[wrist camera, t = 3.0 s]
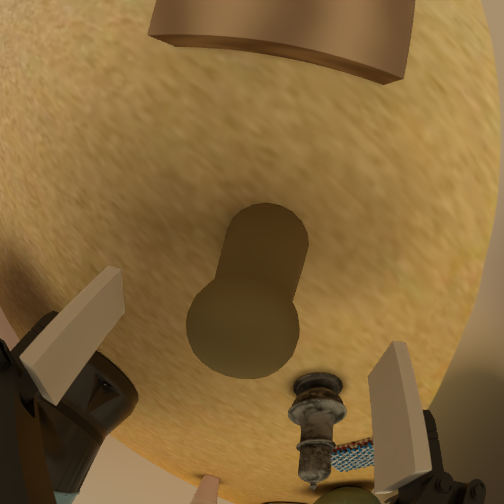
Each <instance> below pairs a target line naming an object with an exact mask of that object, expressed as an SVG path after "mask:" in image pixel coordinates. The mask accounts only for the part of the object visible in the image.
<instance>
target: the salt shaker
mask: <svg viewBox="0 0 504 504" xmlns="http://www.w3.org/2000/svg"><path fill="white" fill-rule="evenodd" d="M342 387H343V385H342V381H341V380H340V379H339V378H338V377H336V376H335V375H332V374H328V373H312V374H308V375H305V376H303V377H301V378H299V379H298V380H297V381H296V382H295V384H294V392H295V394H296V395H297V398H296V399H295V401H294V403H293V404H292V407H291V408H290V409H289V411H288V417H289V418H290V420H291V421H292V422H294V423H295V424H297V425H300V426H301V439H300V443H298V444H297V447H296V448H297V450H298V451H300V459H299V469H298V476H299V477H300V478H301V479H302V480H304V481H306V482H309V483H311V485H310V486H309V487H311V489H312V490H314V489H316V487H317V485H316V483H319V482H320V481H323V480H325V479H326V478H328V477H329V475H330V473H331V452H332V450H333V449H334V448H335V447H336V444H335V443H334V442H333V425H334V424H336V423H338V422H340V421H341V420H343V418H344V417H345V416H346V413H347V410H346V407H345V406H344V405H343V401H342V400H341V398H340V396H339V395H338V394H339V393H340V392H341V390H342Z"/></svg>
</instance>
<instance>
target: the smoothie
mask: <svg viewBox="0 0 504 504" xmlns="http://www.w3.org/2000/svg"><path fill="white" fill-rule="evenodd" d="M218 488H219V479H218V478H217V477H214V476H210V475H204V476H203V478H202V480H201V483H200V485H199V487H198V489H197V491H196V493H195V495H194V497H193V499H192V501H191V503H190V504H217V497H218Z"/></svg>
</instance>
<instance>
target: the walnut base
mask: <svg viewBox="0 0 504 504" xmlns="http://www.w3.org/2000/svg"><path fill="white" fill-rule="evenodd" d="M414 8H415V0H157V1H156V4H155V8H154V12H153V15H152V19H151V23H150V27H149V32H148V36H151V37H153V38H156V39H158V40H161V41H163V42H166V43H168V44H171V45H173V46H175V47H204V48H218V49H229V50H239V51H247V52H255V53H261V54H268V55H274V56H279V57H285V58H290V59H295V60H300V61H304V62H308V63H313V64H317V65H321V66H325V67H329V68H332V69H336V70H339V71H343V72H346V73H350V74H353V75H356V76H359V77H362V78H365V79H368V80H371V81H374V82H377V83H380V84H382V85H385V84H388V83H391V82H394V81H398V80H401V79H404V74H405V68H406V63H407V57H408V52H409V46H410V39H411V32H412V25H413V17H414Z"/></svg>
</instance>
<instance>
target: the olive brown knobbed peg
mask: <svg viewBox="0 0 504 504" xmlns="http://www.w3.org/2000/svg"><path fill="white" fill-rule="evenodd" d="M308 245H309V244H308V235H307V231H306V229H305V227H304V225H303V223H302V221H301V220H300V219H299V218H298V217H297V216H296V215H295V214H294V213H293V212H292V211H290V210H288V209H286V208H284V207H282V206H280V205H275V204H269V203H262V204H255V205H251V206H249V207H247V208H245V209H243V210H241V211H240V212H239V213H238V214H237V215H236V216H235V217H234V218H233V219H232V221H231V223H230V226H229V228H228V230H227V234H226V237H225V241H224V245H223V248H222V252H221V256H220V260H219V263H218V267H217V271H216V275H215V279H214V280H213V281H211V282H210V283H209V284H208V285H207V286H206V287H204V288H203V289H202V290H201V291H200V292H199V293H198V294H197V295H196V297H195V299H194V300H193V302H192V304H191V307H190V309H189V311H188V314H187V321H186V330H187V337H188V340H189V343H190V345H191V348H192V350H193V352H194V353H195V355H196V356H197V357H198V358H199V359H200V360H201V362H203V363H204V364H205V365H207V366H208V367H210V368H211V369H212V370H214V371H217V372H219V373H221V374H223V375H226V376H230V377H234V378H239V379H256V378H261V377H266V376H268V375H270V374H272V373H274V372H276V371H278V370H279V369H280V368H281V367H283V366H284V365H285V363H286V362H287V361H288V360H289V359H290V358H291V357H292V355H293V353H294V350H295V348H296V345H297V342H298V339H299V320H298V314H297V311H296V308H295V306H294V304H293V302H292V301H293V298H294V295H295V292H296V288H297V285H298V282H299V278H300V275H301V271H302V268H303V265H304V261H305V258H306V254H307V249H308Z"/></svg>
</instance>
